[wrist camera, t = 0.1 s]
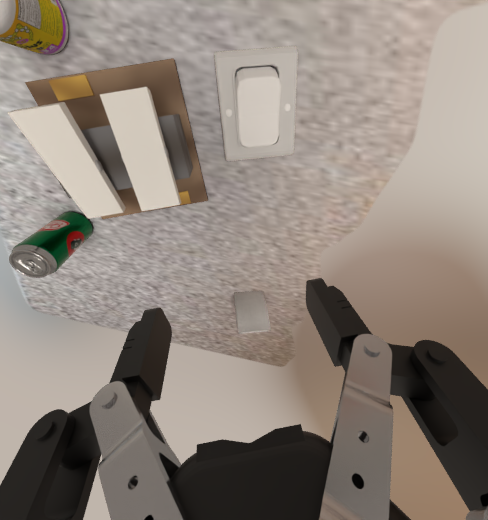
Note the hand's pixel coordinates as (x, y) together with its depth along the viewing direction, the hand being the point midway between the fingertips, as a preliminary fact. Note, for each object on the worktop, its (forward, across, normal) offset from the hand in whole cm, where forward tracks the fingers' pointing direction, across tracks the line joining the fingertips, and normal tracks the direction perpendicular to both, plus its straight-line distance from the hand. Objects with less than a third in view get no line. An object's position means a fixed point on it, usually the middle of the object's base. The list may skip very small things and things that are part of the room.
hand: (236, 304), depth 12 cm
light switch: (+30, -7, -8) cm, 32 cm away
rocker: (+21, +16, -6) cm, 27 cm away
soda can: (+29, +26, +4) cm, 39 cm away
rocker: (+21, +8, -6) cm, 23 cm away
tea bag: (+29, -1, +29) cm, 41 cm away
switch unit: (+29, +12, -6) cm, 32 cm away
